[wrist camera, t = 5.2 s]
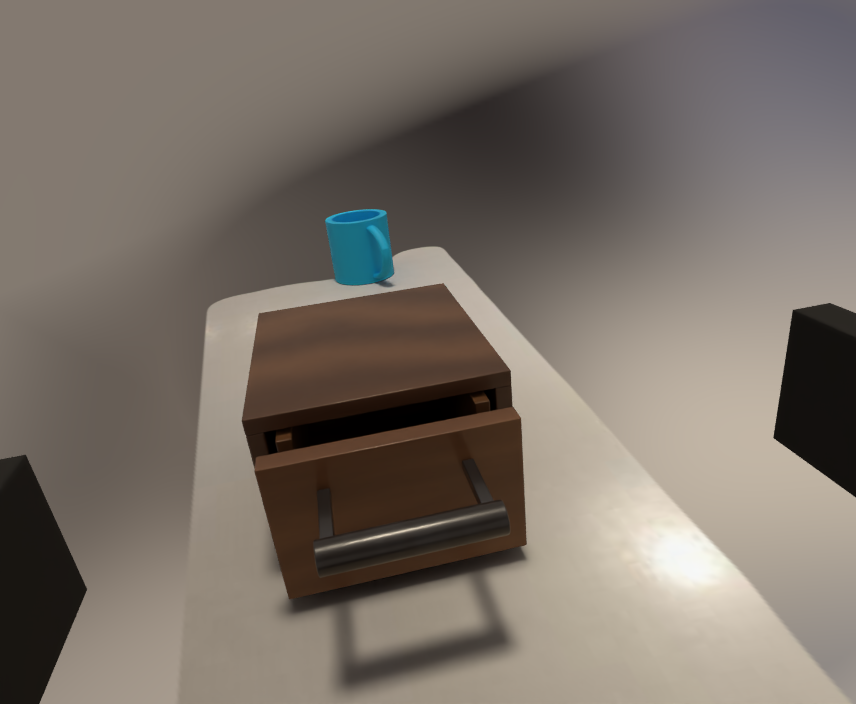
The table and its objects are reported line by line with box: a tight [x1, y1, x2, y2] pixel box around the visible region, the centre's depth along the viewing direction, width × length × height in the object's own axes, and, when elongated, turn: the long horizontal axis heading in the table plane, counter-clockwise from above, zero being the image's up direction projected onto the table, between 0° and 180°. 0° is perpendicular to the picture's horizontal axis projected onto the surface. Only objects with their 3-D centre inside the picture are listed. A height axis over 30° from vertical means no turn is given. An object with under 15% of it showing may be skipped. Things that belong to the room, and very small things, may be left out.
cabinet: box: [242, 283, 512, 468], centre depth 40 cm, size 16×14×10 cm
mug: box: [325, 209, 394, 285], centre depth 80 cm, size 12×8×8 cm
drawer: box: [255, 390, 527, 599], centre depth 34 cm, size 20×13×8 cm, turn 11°
